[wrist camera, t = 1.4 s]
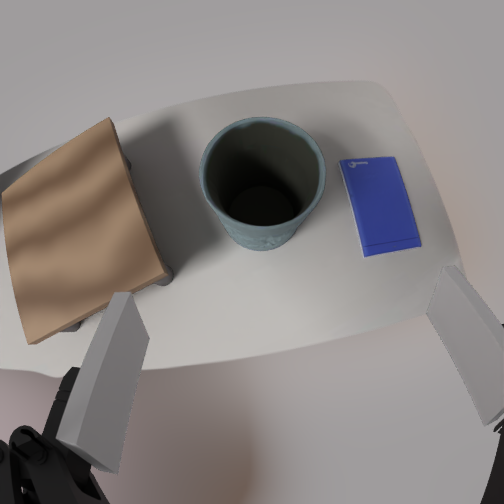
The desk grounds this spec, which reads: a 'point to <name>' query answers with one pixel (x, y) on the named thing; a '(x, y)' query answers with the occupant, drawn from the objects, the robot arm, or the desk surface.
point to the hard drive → (379, 205)
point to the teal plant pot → (262, 180)
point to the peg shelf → (77, 235)
